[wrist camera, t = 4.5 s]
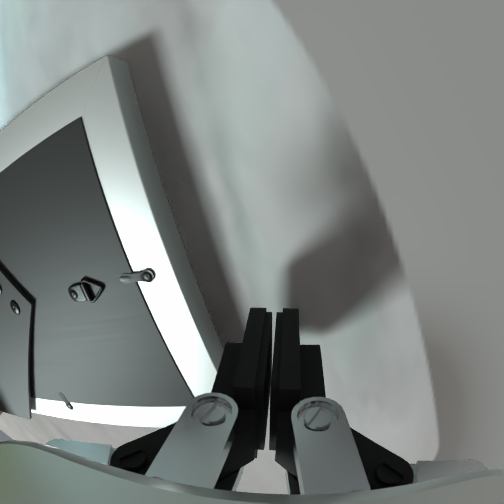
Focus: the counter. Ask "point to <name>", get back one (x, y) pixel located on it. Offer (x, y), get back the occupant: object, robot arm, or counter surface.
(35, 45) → the counter surface
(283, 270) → the counter surface
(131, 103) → the picture frame
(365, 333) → the counter surface
